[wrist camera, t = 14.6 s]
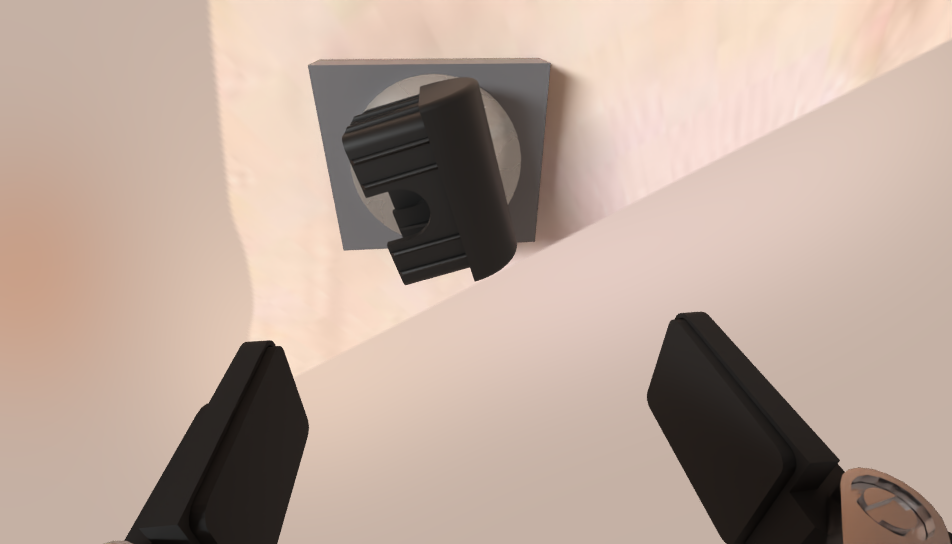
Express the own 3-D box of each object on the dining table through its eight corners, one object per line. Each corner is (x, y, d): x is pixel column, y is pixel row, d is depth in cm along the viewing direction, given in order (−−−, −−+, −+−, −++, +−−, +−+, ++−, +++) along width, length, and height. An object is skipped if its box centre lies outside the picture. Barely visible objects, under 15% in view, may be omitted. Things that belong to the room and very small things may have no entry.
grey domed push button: (539, 58, 27) (552, 63, 24) (526, 224, 34) (536, 244, 31) (319, 59, 26) (306, 65, 23) (350, 231, 32) (342, 253, 29)
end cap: (507, 218, 29) (526, 269, 24) (411, 246, 30) (408, 302, 24) (470, 68, 24) (484, 87, 18) (354, 104, 24) (332, 133, 19)
